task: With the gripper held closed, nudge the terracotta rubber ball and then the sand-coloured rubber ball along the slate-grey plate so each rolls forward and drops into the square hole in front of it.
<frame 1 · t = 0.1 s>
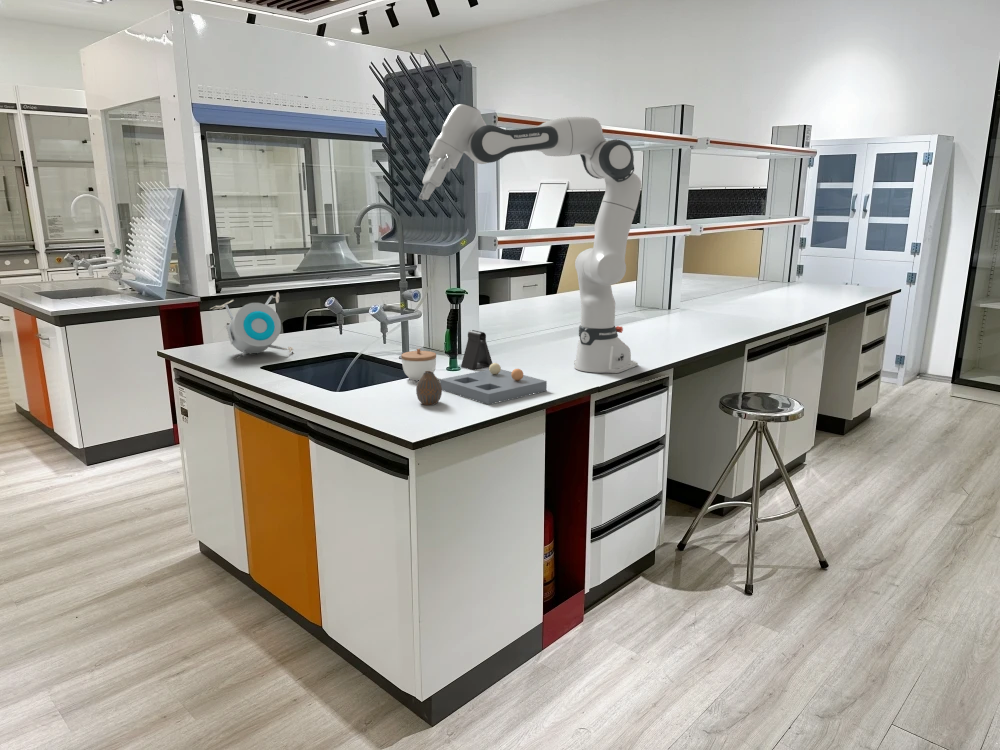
hand: (423, 199, 205), 54 cm above the table, tool tilted 30°, fingers open, 8 cm apart
hole plate: (493, 390, 202), on the table
vase: (429, 403, 189), on the table
door stopper: (477, 367, 232), on the table
lidded jar: (419, 379, 216), on the table
sand ball: (494, 368, 208), point 5 cm above the table, touching hole plate
terracotta ball: (517, 374, 201), point 5 cm above the table, touching hole plate
satellite: (254, 355, 250), on the table
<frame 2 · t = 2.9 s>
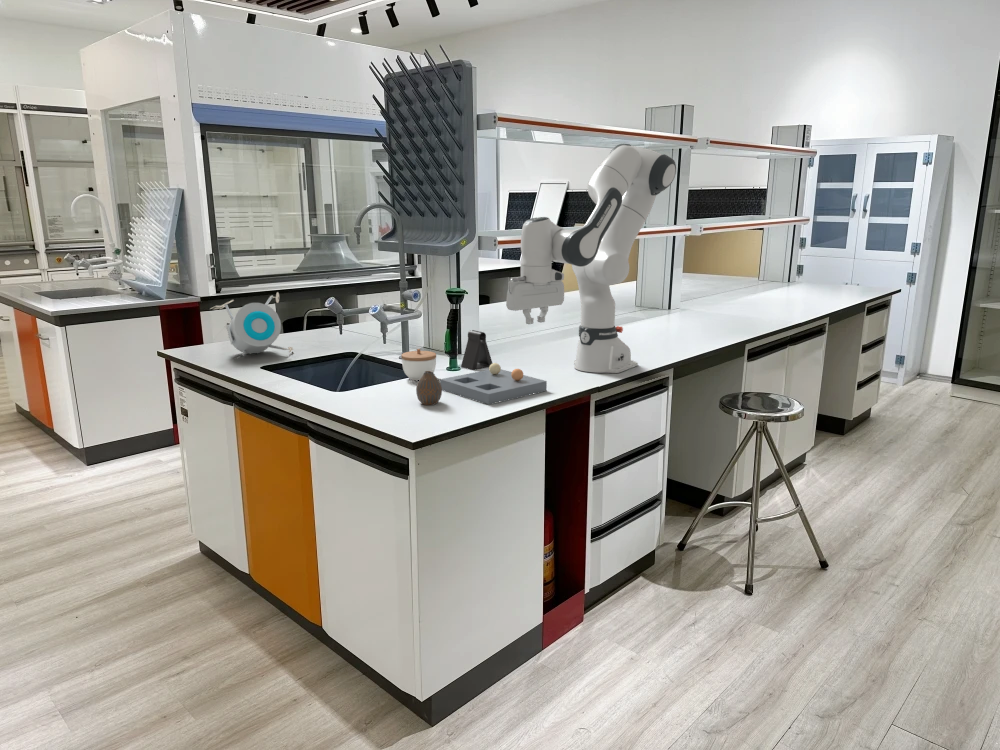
hand: (535, 323, 202), 19 cm above the table, tool pointing down, fingers open, 3 cm apart
nothing on the table moved.
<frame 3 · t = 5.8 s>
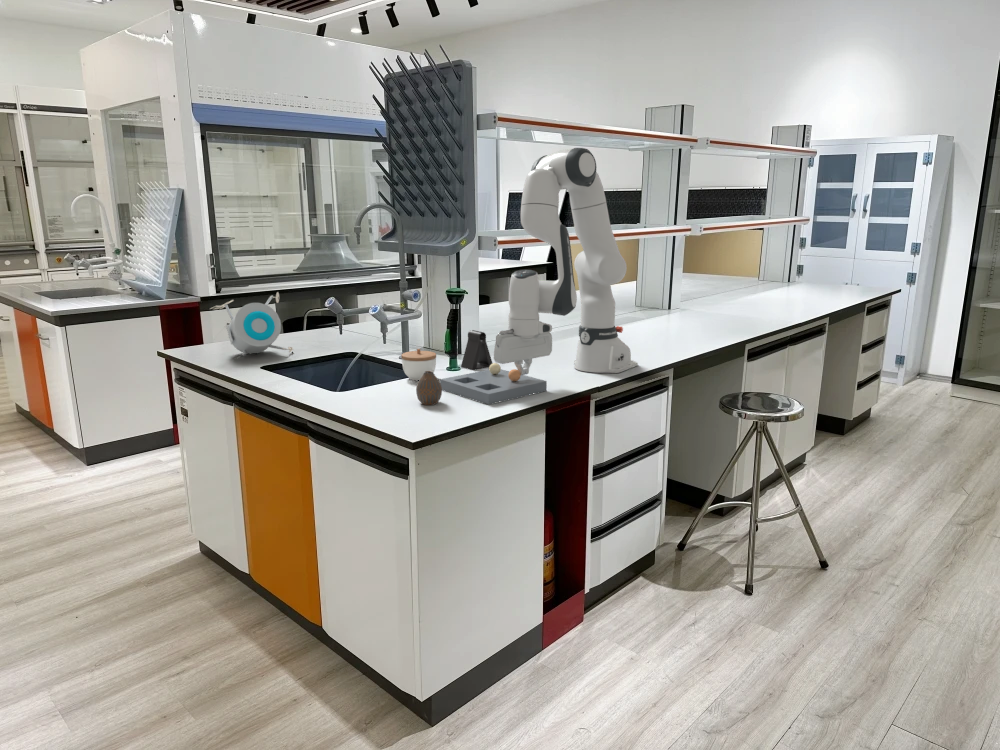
hand: (523, 374, 202), 4 cm above the table, tool pointing down, fingers closed
terracotta ball: (514, 375, 200), point 5 cm above the table, tilted 34°, touching hole plate
everything else where it was.
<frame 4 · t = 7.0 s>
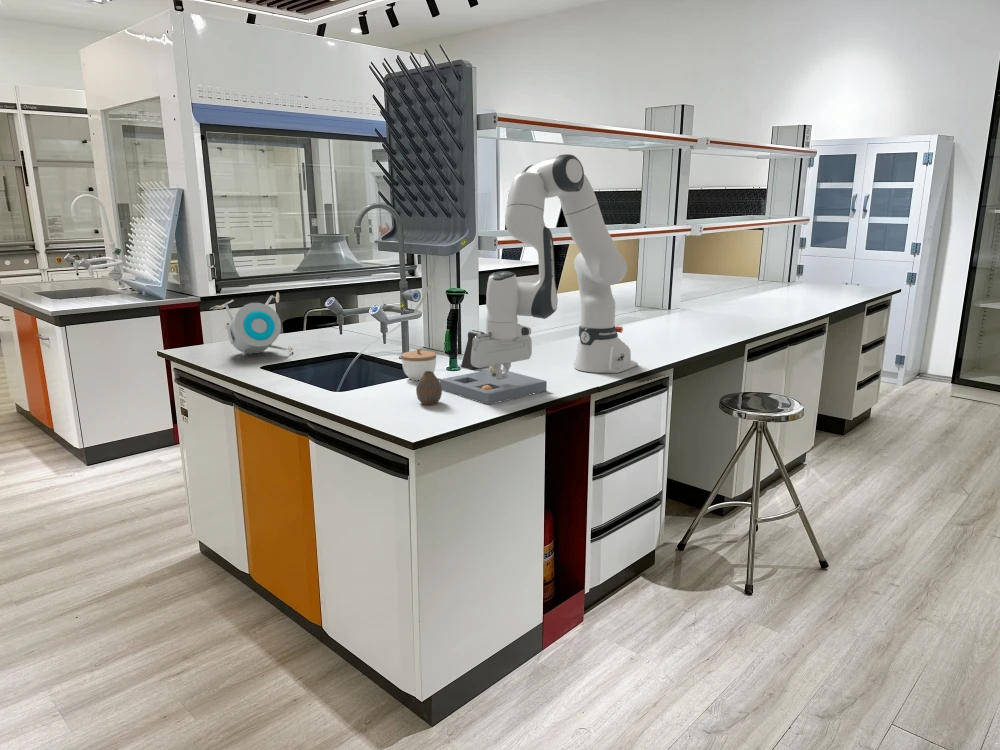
hand: (501, 378, 197), 5 cm above the table, tool pointing down, fingers closed
terracotta ball: (486, 391, 194), point 2 cm above the table, tilted 50°
everything else where it was.
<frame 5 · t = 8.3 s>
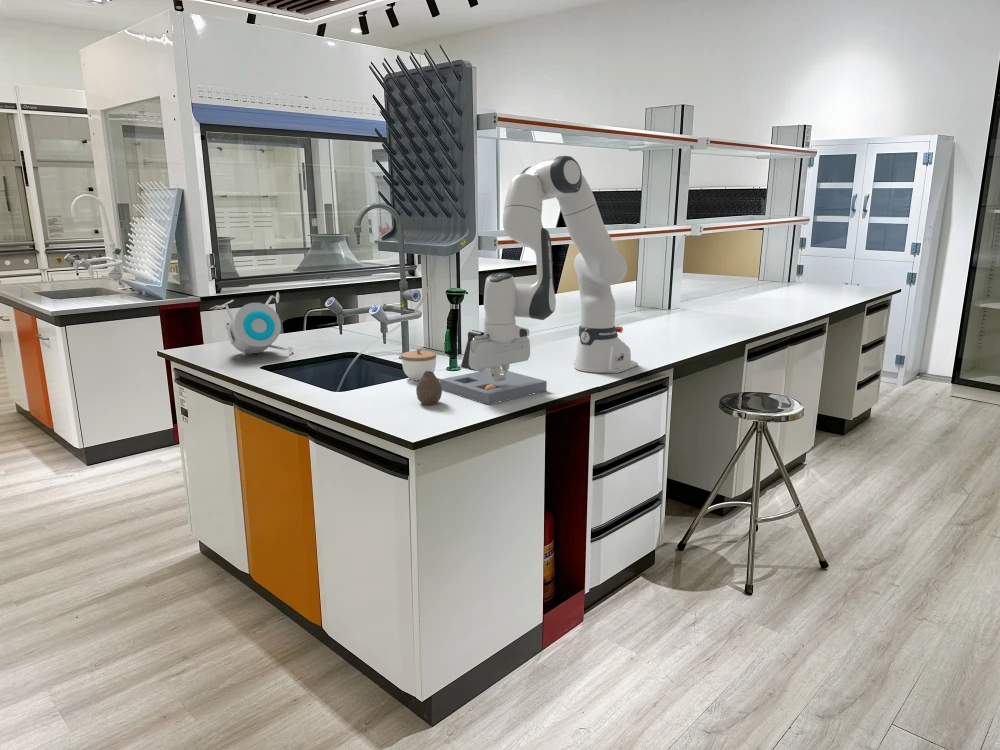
hand: (500, 380, 197), 4 cm above the table, tool pointing down, fingers closed
terracotta ball: (490, 390, 195), point 2 cm above the table
everything else where it was.
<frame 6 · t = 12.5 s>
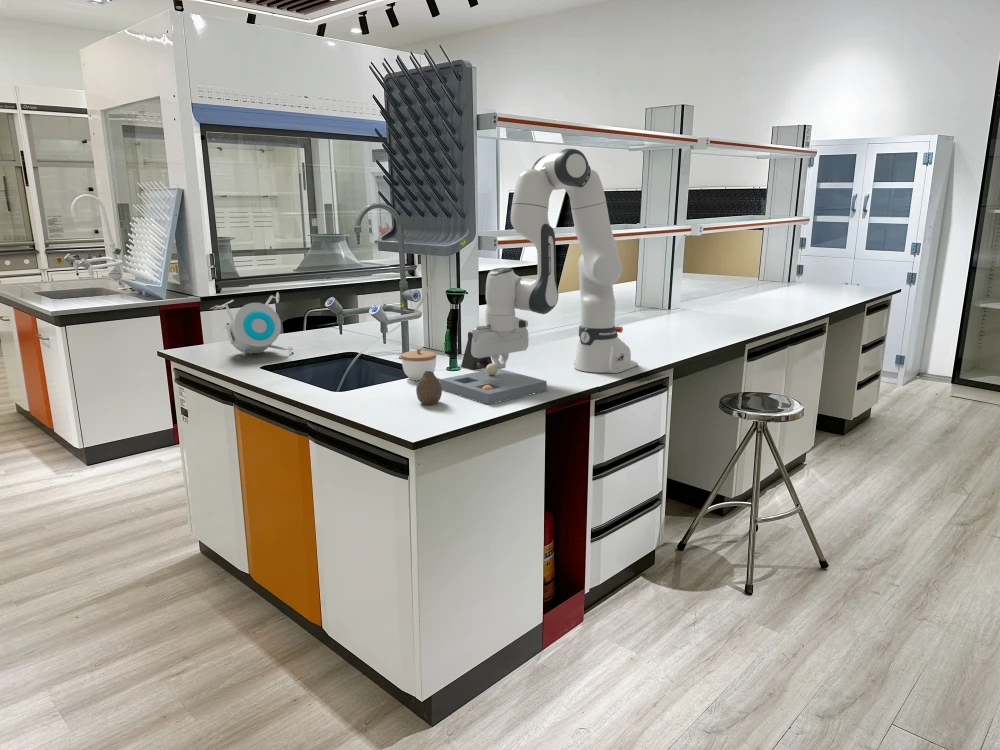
hand: (500, 368, 210), 4 cm above the table, tool pointing down, fingers closed
sand ball: (491, 369, 207), point 5 cm above the table, tilted 37°, touching hole plate
terracotta ball: (487, 391, 194), point 2 cm above the table, tilted 41°
everything else where it was.
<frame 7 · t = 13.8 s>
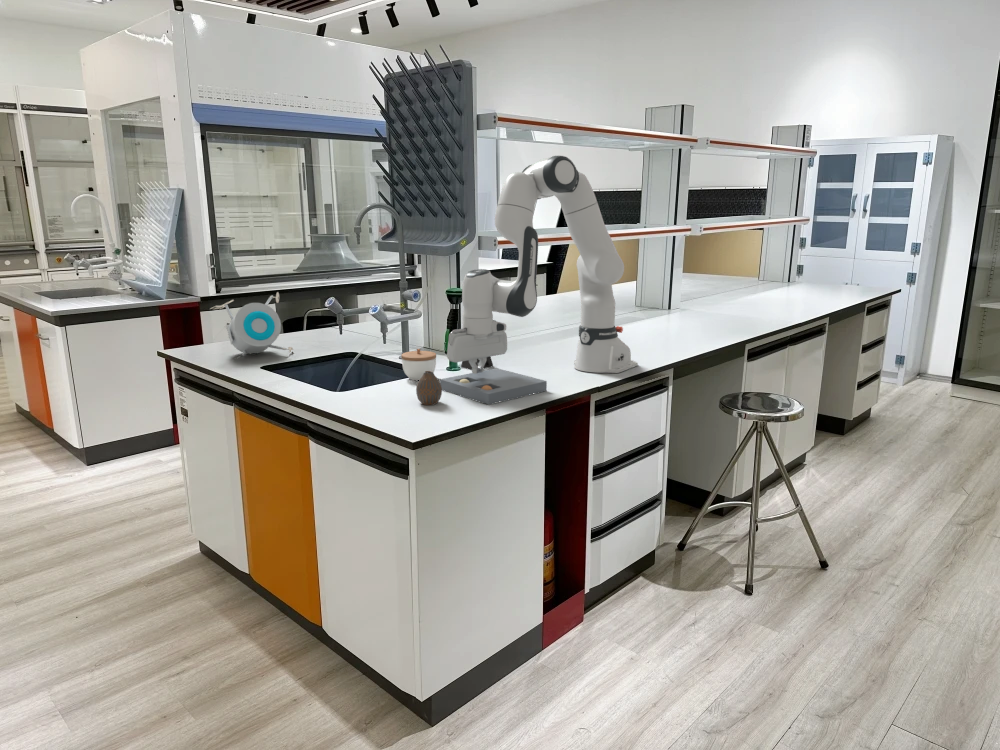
hand: (477, 372, 204), 4 cm above the table, tool pointing down, fingers closed
sand ball: (464, 384, 201), point 2 cm above the table, tilted 49°
terracotta ball: (486, 391, 194), point 2 cm above the table, tilted 53°
everything else where it was.
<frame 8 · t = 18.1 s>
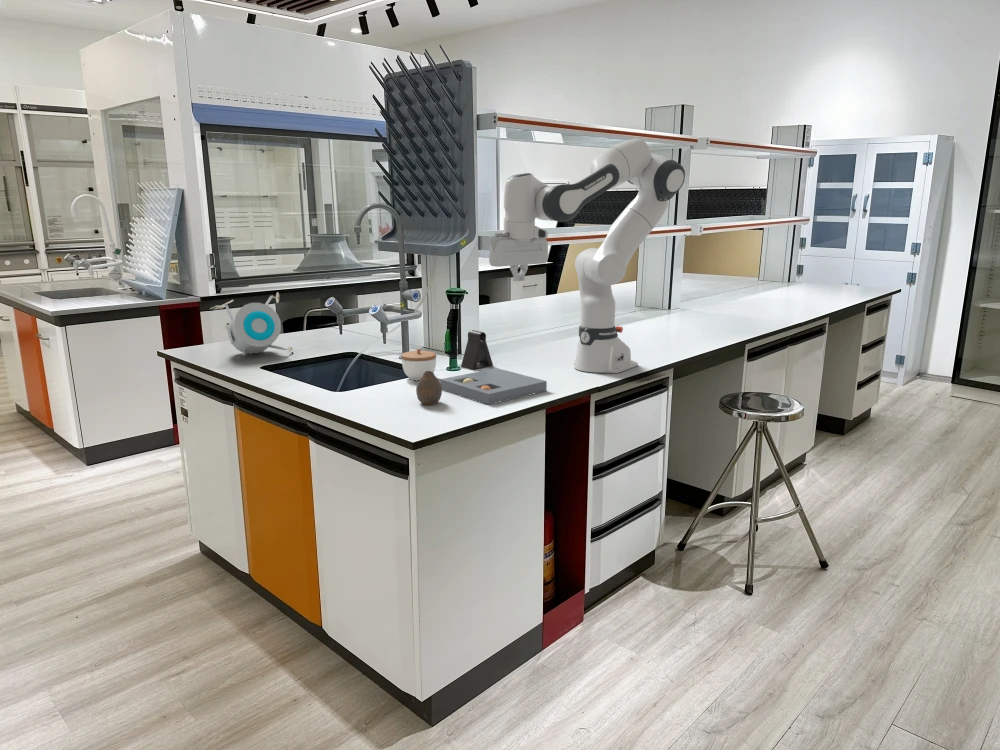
hand: (518, 280, 201), 31 cm above the table, tool pointing down, fingers closed
sand ball: (468, 383, 202), point 2 cm above the table
terracotta ball: (485, 391, 194), point 2 cm above the table, tilted 65°
everything else where it was.
at the end: terracotta ball 1.0 cm from the target spot on the hole plate, point 1.7 cm above the hole plate's base; sand ball 0.9 cm from the target spot on the hole plate, point 1.7 cm above the hole plate's base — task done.
